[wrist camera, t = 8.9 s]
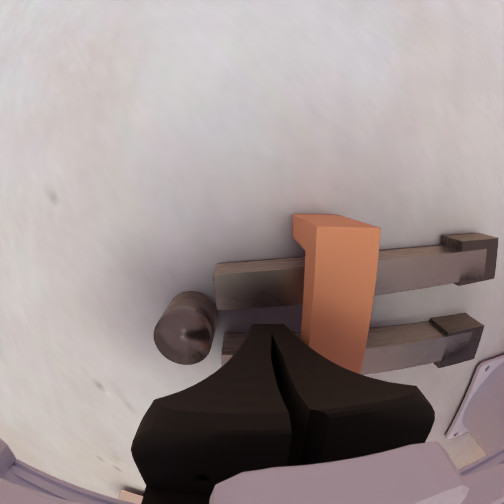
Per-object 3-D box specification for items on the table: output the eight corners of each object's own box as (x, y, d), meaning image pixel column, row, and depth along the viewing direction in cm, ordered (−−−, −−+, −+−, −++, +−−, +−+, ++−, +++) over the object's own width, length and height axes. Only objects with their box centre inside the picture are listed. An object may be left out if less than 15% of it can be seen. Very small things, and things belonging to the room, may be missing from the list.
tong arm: (221, 299, 13) (217, 314, 12) (216, 252, 13) (211, 262, 11) (476, 270, 13) (494, 278, 12) (479, 233, 13) (498, 238, 11)
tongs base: (175, 364, 14) (164, 394, 12) (167, 290, 13) (150, 312, 11) (456, 344, 14) (479, 363, 12) (471, 282, 14) (499, 296, 11)
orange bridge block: (284, 395, 14) (294, 456, 10) (293, 214, 12) (316, 226, 8) (320, 392, 14) (339, 451, 10) (337, 214, 12) (380, 228, 8)
